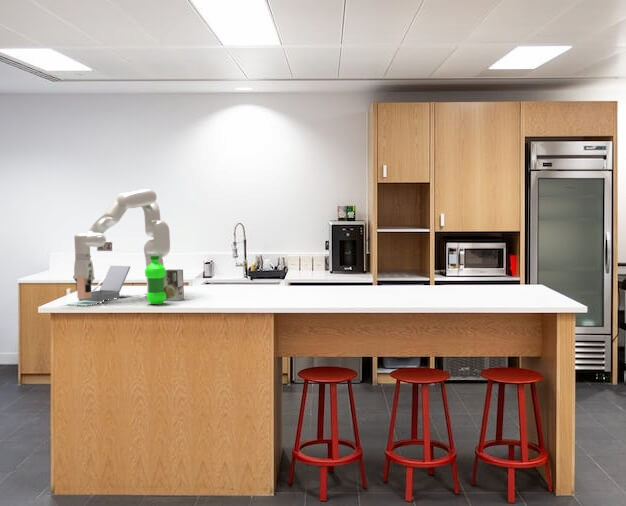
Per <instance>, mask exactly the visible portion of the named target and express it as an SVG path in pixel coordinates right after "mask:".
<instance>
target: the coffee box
mask: <svg viewBox="0 0 626 506" xmlns="http://www.w3.org/2000/svg"><path fill="white" fill-rule="evenodd" d="M184 289H185V288H184V270H183V269H174V268H173V269H166V275H165V276H164V292H165V294H166V299H165V301H181V300H184V299H185V290H184Z"/></svg>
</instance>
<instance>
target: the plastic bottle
mask: <svg viewBox="0 0 626 506" xmlns="http://www.w3.org/2000/svg"><path fill="white" fill-rule="evenodd" d="M158 259H159V256H151V260H152V263H151V264H150V265H149V266H148V267H147V268H146V267H145V269H144V274H145V277H146V279H147V278H148V294H147V297H146V300H147V302H149V304H151V305H152V304H159V305H162V304H163V303H164V302H165V301H166V300H165V299H166V294H165V292H164V276H165V275H166V270H167V269H166V267H165V266H164V267H163V266H162V265H161V264H160V263H159V262H158Z"/></svg>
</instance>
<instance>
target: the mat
mask: <svg viewBox="0 0 626 506" xmlns="http://www.w3.org/2000/svg"><path fill="white" fill-rule="evenodd" d="M100 302H103V301H85V300H84V301H79V300H78V301H74V302H69V303H66V304H67V305H66V306H71V305H78V306H77V307H84V306H85V307H87V306H86V305H90V306H92V305H91V304H95V305H97V304H96V303H100Z"/></svg>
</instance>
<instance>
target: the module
mask: <svg viewBox="0 0 626 506" xmlns="http://www.w3.org/2000/svg"><path fill="white" fill-rule="evenodd" d="M88 278H89V277H88ZM90 278H91V277H90ZM88 281H89V280H88ZM85 285H86V281H85V279H84V276H77V282H76V293H77V299H79V298H80V299H86V298H92V293H91V292H86V288H85Z"/></svg>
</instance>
